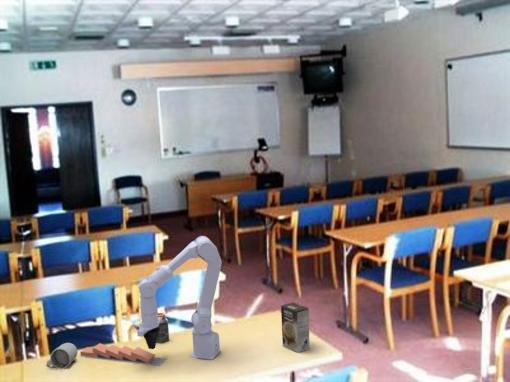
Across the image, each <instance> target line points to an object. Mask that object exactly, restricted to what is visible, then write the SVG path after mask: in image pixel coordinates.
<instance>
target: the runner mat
mask: <svg viewBox="0 0 510 382" xmlns="http://www.w3.org/2000/svg"><path fill="white" fill-rule="evenodd" d="M84 358H85V359H86V358H87V359H93V360H94V359H95V360H102V361H103V360H104V361H112V362H120V363H121V362H122V363H128V364H129V363H130V364H137V365H139V364H140V365H146V366H147V365H148V366H154V367H155V366H156V367H160V366H161V365H163V364H164V363H165V362H166V361H168V358H167V357H166V358H165V357H156V356H155V357H154V359H153V360H152V361H150V362H149V363H146V362H144V361H142V360H139V359H138V360H137V361H136V362H134V361H132V360H130V359H127V358H125V359H123V360H120V359H118V358H115V357H113V356H112V357H111V358H110V359H108V358H106V357H104V356H99V357H98V358H96V357H88V356H84Z"/></svg>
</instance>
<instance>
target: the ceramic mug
mask: <svg viewBox="0 0 510 382" xmlns="http://www.w3.org/2000/svg"><path fill="white" fill-rule="evenodd" d="M77 355H78V348H77V346H76V345H75V344H73V343H71V342H65V343H62V344H60V346H58V347H56V348H55V349H54V350H53V351H52V352H51V354H50V357H49V360H47V361H46V364H47V366H49V367H50V366H53V367H55V369H66V368H67V367H68V366H70V364H72V363H73V361H75V359H76V358H77Z"/></svg>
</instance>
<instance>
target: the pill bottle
mask: <svg viewBox="0 0 510 382" xmlns="http://www.w3.org/2000/svg"><path fill="white" fill-rule="evenodd" d="M157 317H162V323H159V326H158V327H159V328H160V331H159V333H158V336H157V340H156V344H166V343H168V342H169V341H170V330H169V320H168V318H166V313H164V312H157Z"/></svg>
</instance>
